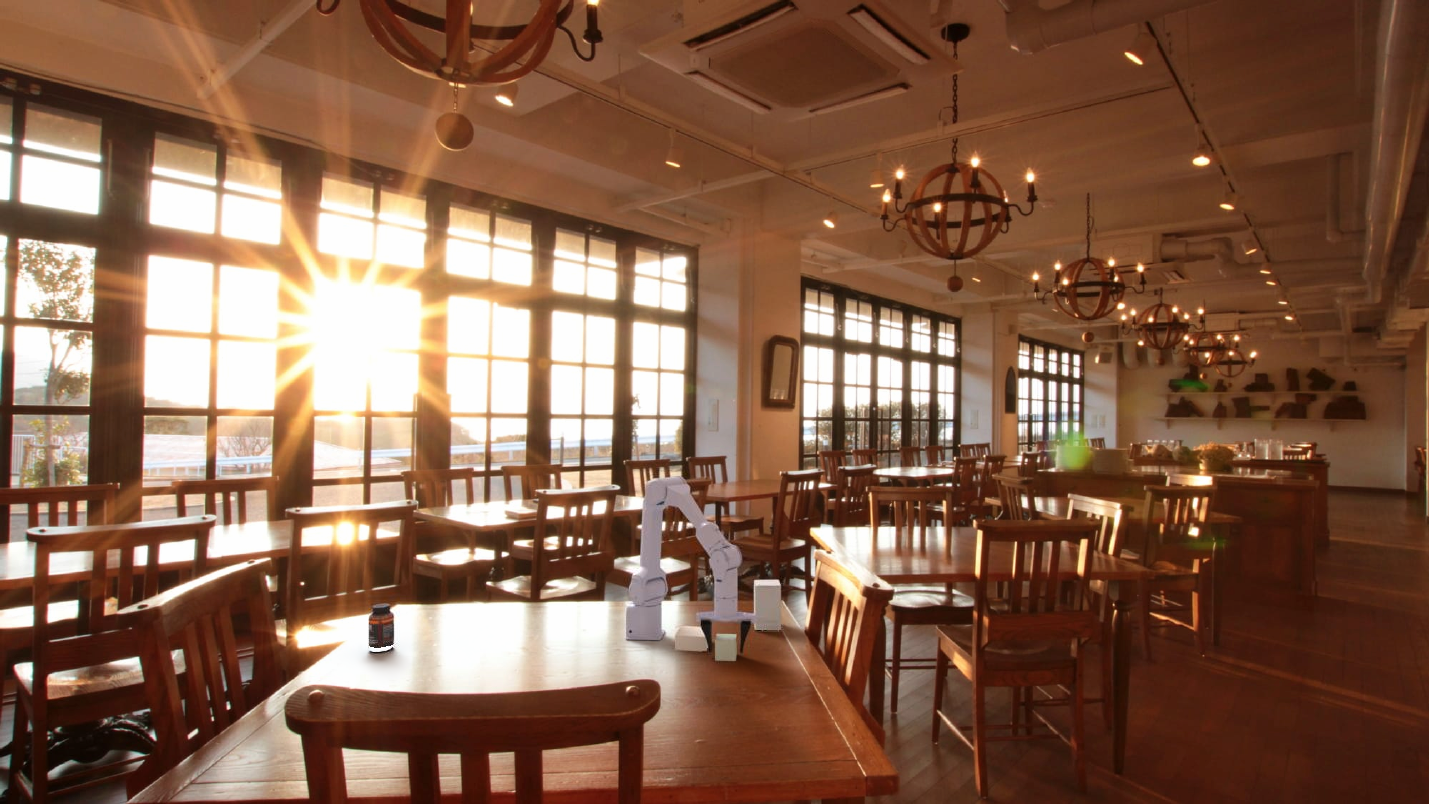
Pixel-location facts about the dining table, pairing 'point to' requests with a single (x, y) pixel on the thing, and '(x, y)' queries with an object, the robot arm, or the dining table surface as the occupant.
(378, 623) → the supplement bottle
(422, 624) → the dining table surface
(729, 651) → the sage block
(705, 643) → the cream block
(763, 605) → the supplement box
